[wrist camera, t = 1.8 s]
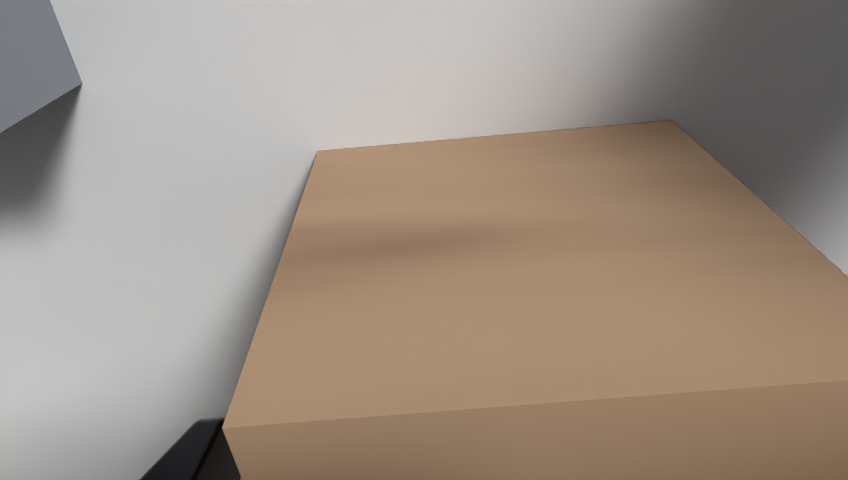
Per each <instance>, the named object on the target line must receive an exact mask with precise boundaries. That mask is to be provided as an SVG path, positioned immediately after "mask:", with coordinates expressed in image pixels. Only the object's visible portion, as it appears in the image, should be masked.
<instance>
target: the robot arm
mask: <svg viewBox="0 0 848 480" xmlns="http://www.w3.org/2000/svg"><path fill="white" fill-rule="evenodd" d="M224 421H225V418H210V419H201V420H198V421H197V422H195V423H194V424H193V425H192V426H191V427H190V428H189V429H188V430H187V431H186V432H185V433H184V434H183V435H182V436H181V437H180V438H179V439H178V440H177V442H176V443H175V444H174V445H173V446H172V447H171V448H170V449H169V450H168V451H167V452H166V453H165V454H164V455H163V456H162V457H161V458H160V459H159V460H158V461H157V462H156V463H155V464H154V465H153V466H152V467H151V468H150V469H149V470H148V471H147V472H146V473H145V474H144V476H143V477H142V478H141V479H140V480H240V479H241V475H240V473H239V470H238V468H237V465H236V462H235V460H234V457H233V455H232V452H231V450H230V447H229V445H228V442H227V440H226V437H225V434H224V432H223V429H222V426H223V424H224Z"/></svg>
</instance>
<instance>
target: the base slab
mask: <svg viewBox="0 0 848 480" xmlns="http://www.w3.org/2000/svg"><path fill="white" fill-rule="evenodd" d="M80 84H82V81H81V79H80V76H79V74H78V71H77V69H76V66H75V64H74V61H73V59H72V56H71V54H70V51H69V48H68V46H67V43H66V41H65V38H64V36H63V33H62V31H61V28H60V26H59V23H58V21H57V18H56V15H55V13H54V10H53V8H52V5H51V3H50V0H0V133H1V132H2V131H4V130H6V129H7V128H9V127H11V126H12V125H14V124H16V123H17V122H19V121H21V120H22V119H24V118H26V117H27V116H29V115H31V114H32V113H34V112H35V111H37V110H39V109H40V108H42V107H44V106H45V105H47V104H49V103H50V102H52V101H54V100H55V99H57V98H59V97H60V96H62V95H64V94H65V93H67V92H69V91H70V90H72V89H74V88H75V87H77V86H79V85H80Z"/></svg>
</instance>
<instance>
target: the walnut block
mask: <svg viewBox="0 0 848 480" xmlns="http://www.w3.org/2000/svg"><path fill="white" fill-rule="evenodd" d="M222 429H223V432H224V434H225V437H226V440H227V442H228V445H229V447H230V450H231V452H232V455H233V457H234V460H235V462H236V465H237V468H238V470H239V473H240V475H241V478H242V480H848V276H847V275H845V274H844V273H843V272H842V271H841V270H840V269H839V268H838V267H836V266H835V265H834V264H833V263H832V262H831V261H830V260H829V259H827V258H826V257H825V256H824V255H823V254H822V253H821V252H820V251H818V250H817V249H816V248H815V247H814V246H813V245H812V244H811V243H809V242H808V241H807V240H806V239H805V238H804V237H803V236H802V235H800V234H799V233H798V232H797V231H796V230H795V229H794V228H792V227H791V226H790V225H789V224H788V223H787V222H786V221H785V220H783V219H782V218H781V217H780V216H779V215H778V214H777V213H776V212H774V211H773V210H772V209H771V208H770V207H769V206H768V205H767V204H765V203H764V202H763V201H762V200H761V199H760V198H759V197H758V196H756V195H755V194H754V193H753V192H752V191H751V190H750V189H749V188H747V187H746V186H745V185H744V184H743V183H742V182H741V181H739V180H738V179H737V178H736V177H735V176H734V175H733V174H732V173H730V172H729V171H728V170H727V169H726V168H725V167H724V166H723V165H721V164H720V163H719V162H718V161H717V160H716V159H715V158H714V157H712V156H711V155H710V154H709V153H708V152H707V151H706V150H705V149H703V148H702V147H701V146H700V145H699V144H698V143H697V142H696V141H694V140H693V139H692V138H691V137H690V136H689V135H688V134H686V133H685V132H684V131H683V130H682V129H681V128H680V127H679V126H677V125H676V124H675V123H674V122H673V121H672V120H665V121H654V122H643V123H631V124H620V125H608V126H597V127H585V128H574V129H562V130H551V131H540V132H528V133H517V134H505V135H494V136H482V137H471V138H459V139H448V140H437V141H425V142H414V143H402V144H391V145H379V146H368V147H357V148H345V149H334V150H322V151H318V152H317V155H316V158H315V160H314V163H313V166H312V169H311V172H310V175H309V178H308V181H307V184H306V186H305V189H304V192H303V195H302V198H301V201H300V204H299V207H298V210H297V212H296V215H295V218H294V221H293V224H292V227H291V230H290V233H289V236H288V239H287V241H286V244H285V247H284V250H283V253H282V256H281V259H280V262H279V265H278V267H277V270H276V273H275V276H274V279H273V282H272V285H271V288H270V291H269V293H268V296H267V299H266V302H265V305H264V308H263V311H262V314H261V317H260V319H259V322H258V325H257V328H256V331H255V334H254V337H253V340H252V343H251V345H250V348H249V351H248V354H247V357H246V360H245V363H244V366H243V369H242V372H241V374H240V377H239V380H238V383H237V386H236V389H235V392H234V395H233V398H232V400H231V403H230V406H229V409H228V412H227V415H226V418H225V421H224V424H223V426H222Z"/></svg>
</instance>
